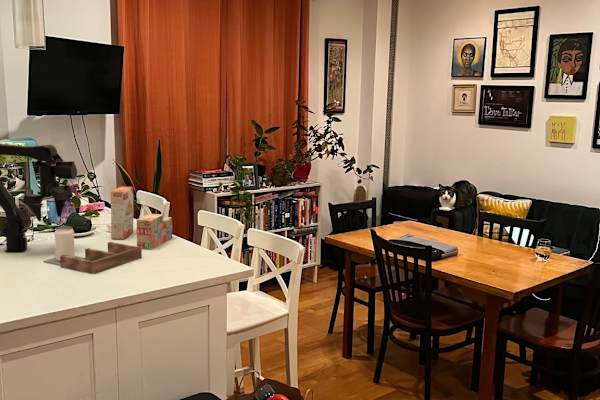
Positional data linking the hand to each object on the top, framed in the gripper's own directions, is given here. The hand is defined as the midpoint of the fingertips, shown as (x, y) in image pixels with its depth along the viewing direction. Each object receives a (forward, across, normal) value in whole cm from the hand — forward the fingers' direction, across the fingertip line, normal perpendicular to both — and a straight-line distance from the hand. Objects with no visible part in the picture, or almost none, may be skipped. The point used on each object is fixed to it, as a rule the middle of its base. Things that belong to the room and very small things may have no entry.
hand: (49, 218), depth 224 cm
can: (+13, -6, -14) cm, 20 cm away
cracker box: (+13, +34, -5) cm, 37 cm away
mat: (+13, -6, -14) cm, 20 cm away
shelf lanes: (+13, 0, -27) cm, 30 cm away
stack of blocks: (+13, +32, -24) cm, 43 cm away
